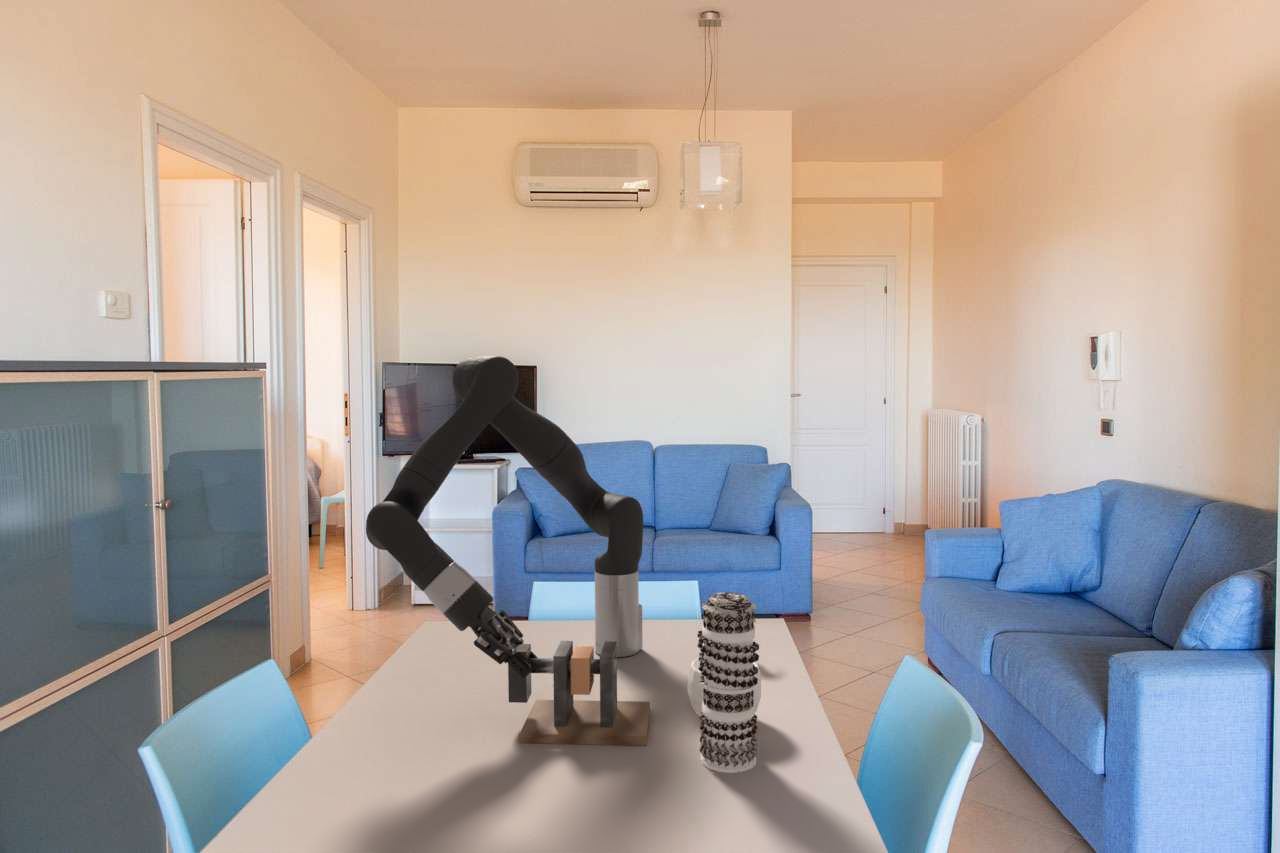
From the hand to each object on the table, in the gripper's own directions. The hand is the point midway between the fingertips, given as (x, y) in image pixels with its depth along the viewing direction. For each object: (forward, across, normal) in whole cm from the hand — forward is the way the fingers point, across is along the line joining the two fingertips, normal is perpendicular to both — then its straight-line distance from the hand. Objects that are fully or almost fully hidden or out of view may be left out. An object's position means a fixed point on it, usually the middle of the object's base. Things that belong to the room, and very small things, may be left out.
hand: (531, 668), depth 138 cm
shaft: (+7, 0, 0) cm, 7 cm away
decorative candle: (+30, -11, -16) cm, 35 cm away
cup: (+30, +3, -16) cm, 34 cm away
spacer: (+8, 0, -4) cm, 9 cm away
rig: (+13, 0, 0) cm, 13 cm away
